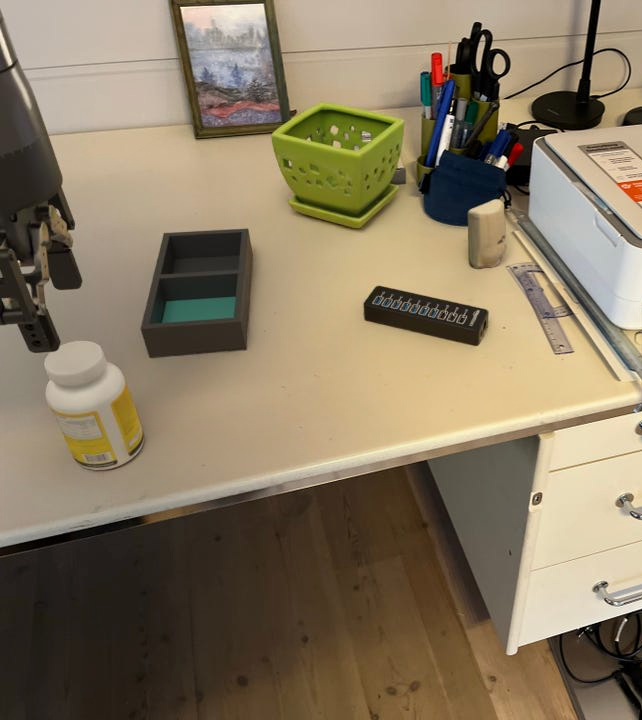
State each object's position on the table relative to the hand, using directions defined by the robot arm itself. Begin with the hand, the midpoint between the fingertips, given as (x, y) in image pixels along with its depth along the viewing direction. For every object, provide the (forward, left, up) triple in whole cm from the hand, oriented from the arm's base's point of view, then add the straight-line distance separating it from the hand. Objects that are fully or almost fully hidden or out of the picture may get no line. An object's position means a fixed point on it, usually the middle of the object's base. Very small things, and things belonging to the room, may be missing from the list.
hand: (58, 317), depth 62 cm
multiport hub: (+16, -33, -16) cm, 40 cm away
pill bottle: (0, 0, -16) cm, 16 cm away
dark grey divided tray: (+23, -7, -16) cm, 29 cm away
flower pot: (+45, -25, -16) cm, 54 cm away
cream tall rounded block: (+29, -43, -16) cm, 54 cm away
